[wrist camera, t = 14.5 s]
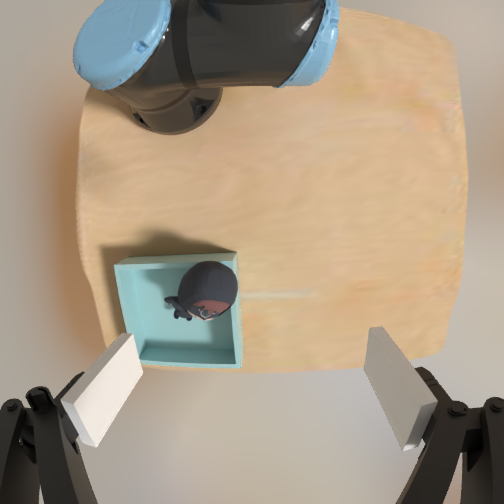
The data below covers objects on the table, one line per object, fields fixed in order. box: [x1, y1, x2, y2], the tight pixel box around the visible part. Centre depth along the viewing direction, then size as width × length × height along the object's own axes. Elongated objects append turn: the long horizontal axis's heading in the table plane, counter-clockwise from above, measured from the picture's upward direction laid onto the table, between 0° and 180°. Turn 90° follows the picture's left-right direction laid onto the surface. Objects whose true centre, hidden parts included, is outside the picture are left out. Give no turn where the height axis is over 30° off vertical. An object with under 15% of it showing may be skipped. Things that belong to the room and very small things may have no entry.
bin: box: [114, 252, 244, 368], centre depth 45 cm, size 18×19×6 cm
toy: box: [164, 261, 238, 321], centre depth 41 cm, size 9×8×15 cm
